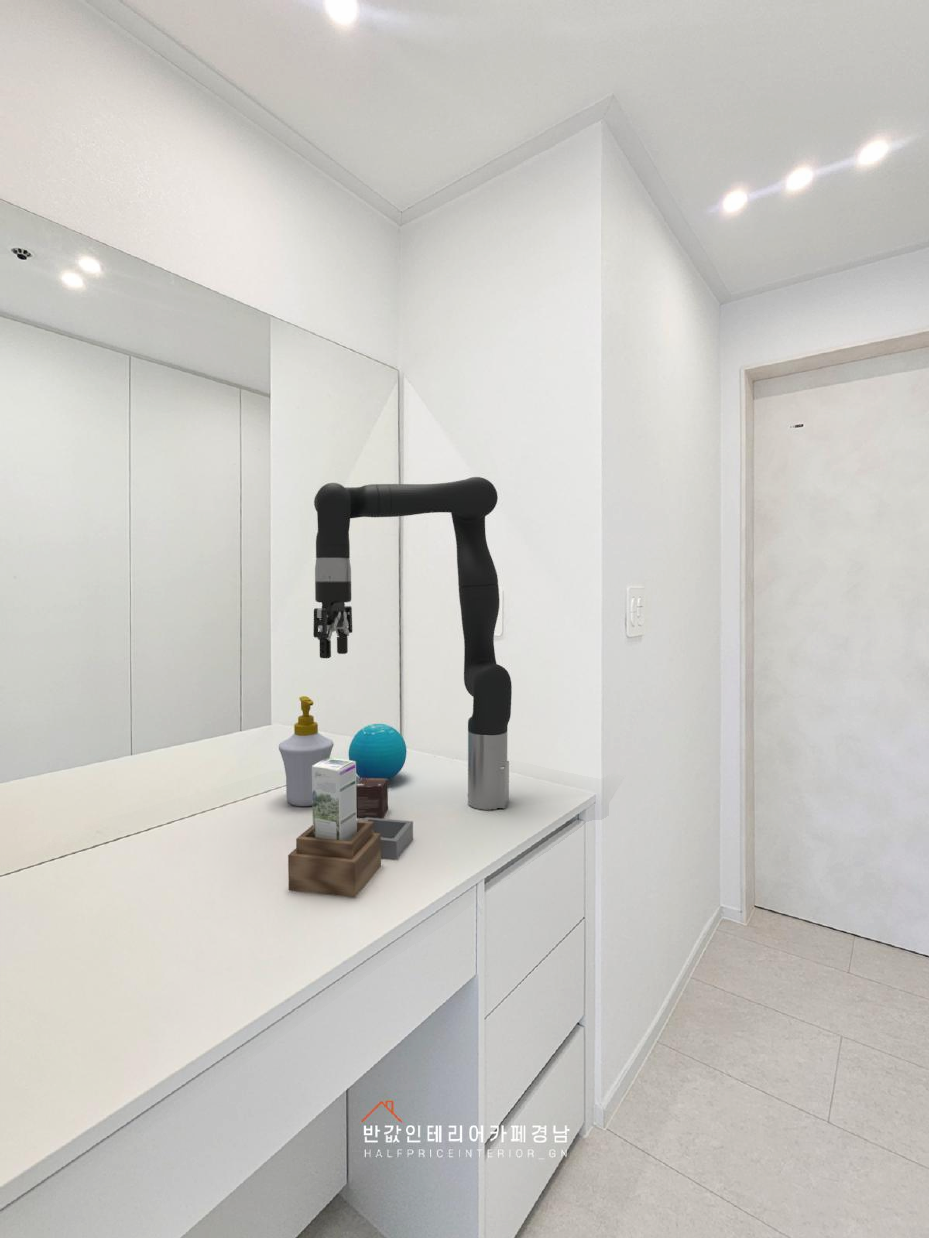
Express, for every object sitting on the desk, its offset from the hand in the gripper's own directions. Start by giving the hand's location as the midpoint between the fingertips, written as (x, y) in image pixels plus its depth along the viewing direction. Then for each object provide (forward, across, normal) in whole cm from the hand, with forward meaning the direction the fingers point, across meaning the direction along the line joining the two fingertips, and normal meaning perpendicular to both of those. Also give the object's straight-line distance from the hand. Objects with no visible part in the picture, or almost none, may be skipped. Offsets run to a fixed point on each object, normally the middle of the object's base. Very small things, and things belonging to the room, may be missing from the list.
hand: (334, 655), depth 134 cm
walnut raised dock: (+36, -24, -11) cm, 45 cm away
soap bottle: (+36, +10, +12) cm, 40 cm away
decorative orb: (+36, +28, +1) cm, 46 cm away
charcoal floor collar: (+36, -10, -14) cm, 40 cm away
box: (+36, +6, -6) cm, 37 cm away
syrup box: (+30, -24, -11) cm, 40 cm away
